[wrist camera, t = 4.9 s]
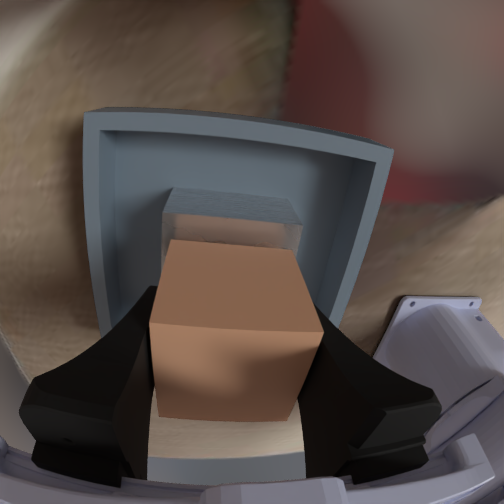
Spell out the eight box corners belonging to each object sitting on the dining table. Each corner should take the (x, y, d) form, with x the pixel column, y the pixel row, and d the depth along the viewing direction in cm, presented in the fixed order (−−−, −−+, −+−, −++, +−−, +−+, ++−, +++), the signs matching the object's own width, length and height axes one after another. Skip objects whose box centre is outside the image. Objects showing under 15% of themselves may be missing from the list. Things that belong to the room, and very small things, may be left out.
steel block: (287, 198, 17) (303, 225, 14) (268, 292, 20) (277, 330, 17) (173, 187, 16) (162, 212, 13) (169, 284, 19) (162, 322, 16)
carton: (292, 249, 14) (323, 332, 9) (270, 337, 16) (286, 420, 12) (170, 239, 13) (149, 322, 8) (170, 330, 15) (159, 416, 11)
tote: (368, 138, 16) (394, 149, 14) (312, 335, 23) (322, 365, 20) (106, 107, 14) (83, 112, 11) (114, 322, 21) (104, 353, 18)
